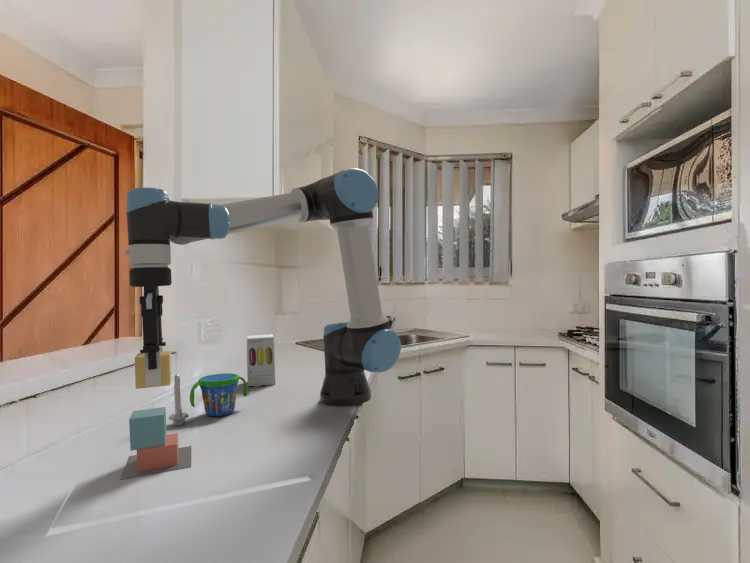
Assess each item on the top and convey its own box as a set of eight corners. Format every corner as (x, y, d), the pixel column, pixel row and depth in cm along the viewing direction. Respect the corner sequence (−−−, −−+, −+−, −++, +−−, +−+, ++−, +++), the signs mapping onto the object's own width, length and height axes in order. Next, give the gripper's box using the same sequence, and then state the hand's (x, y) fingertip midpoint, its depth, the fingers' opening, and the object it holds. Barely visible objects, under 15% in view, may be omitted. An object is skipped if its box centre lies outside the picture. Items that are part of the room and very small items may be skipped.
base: (191, 449, 98) (190, 427, 98) (191, 470, 87) (190, 446, 87) (129, 459, 94) (128, 437, 93) (120, 483, 82) (119, 457, 82)
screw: (170, 422, 118) (190, 420, 119) (167, 428, 113) (188, 425, 115) (167, 373, 118) (187, 371, 119) (165, 377, 113) (186, 375, 114)
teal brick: (166, 435, 93) (165, 406, 93) (165, 445, 88) (163, 414, 88) (134, 440, 91) (132, 411, 91) (130, 450, 86) (129, 419, 86)
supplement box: (247, 387, 154) (245, 338, 153) (247, 381, 162) (245, 335, 162) (276, 384, 156) (274, 336, 156) (274, 379, 165) (273, 333, 165)
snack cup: (242, 404, 133) (241, 369, 133) (254, 412, 124) (252, 375, 124) (186, 414, 124) (185, 378, 124) (194, 424, 116) (193, 384, 116)
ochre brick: (171, 379, 94) (170, 350, 94) (170, 385, 88) (169, 354, 88) (139, 382, 92) (138, 353, 92) (135, 388, 86) (134, 357, 86)
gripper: (135, 268, 97) (139, 375, 97) (122, 265, 80) (127, 395, 80) (172, 267, 100) (177, 371, 100) (168, 264, 82) (173, 390, 83)
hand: (155, 381), depth 90 cm, fingers closed on ochre brick, 6 cm apart
